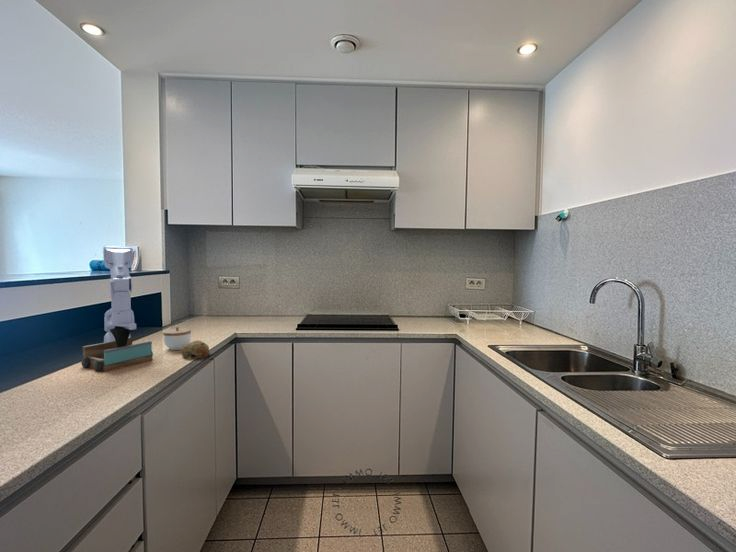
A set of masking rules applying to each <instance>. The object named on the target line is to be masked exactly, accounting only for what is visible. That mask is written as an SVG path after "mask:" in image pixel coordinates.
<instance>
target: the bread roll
mask: <svg viewBox="0 0 736 552" xmlns="http://www.w3.org/2000/svg"><path fill="white" fill-rule="evenodd" d="M209 352H210V347H209V345H208V344H207V343H206V342H204V341H202V340H193V341H190V342H189V343H188V344H186V345H185V346H184V347H183V349H181V355H182V358H184V359H187V360H194V359H195V360H196V359H204V358H206V357H209V355H210V353H209Z"/></svg>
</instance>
